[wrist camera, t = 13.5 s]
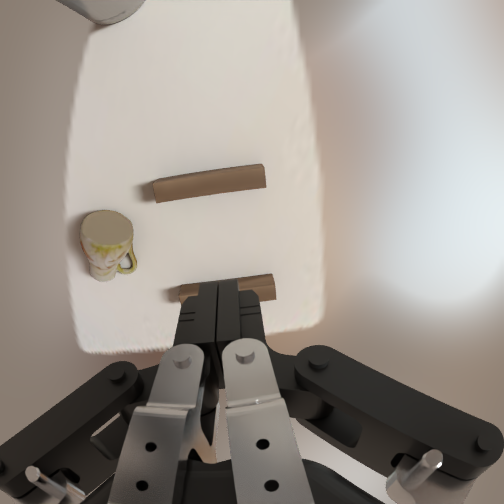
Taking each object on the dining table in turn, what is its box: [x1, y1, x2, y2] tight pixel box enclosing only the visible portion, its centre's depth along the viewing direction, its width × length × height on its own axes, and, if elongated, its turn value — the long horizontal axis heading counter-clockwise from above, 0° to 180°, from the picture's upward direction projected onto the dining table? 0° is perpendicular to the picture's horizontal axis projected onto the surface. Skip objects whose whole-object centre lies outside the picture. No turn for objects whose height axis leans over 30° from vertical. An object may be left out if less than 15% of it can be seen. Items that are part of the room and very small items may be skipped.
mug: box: [80, 210, 137, 282], centre depth 35 cm, size 8×10×10 cm
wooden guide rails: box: [153, 164, 276, 305], centre depth 38 cm, size 18×13×3 cm
